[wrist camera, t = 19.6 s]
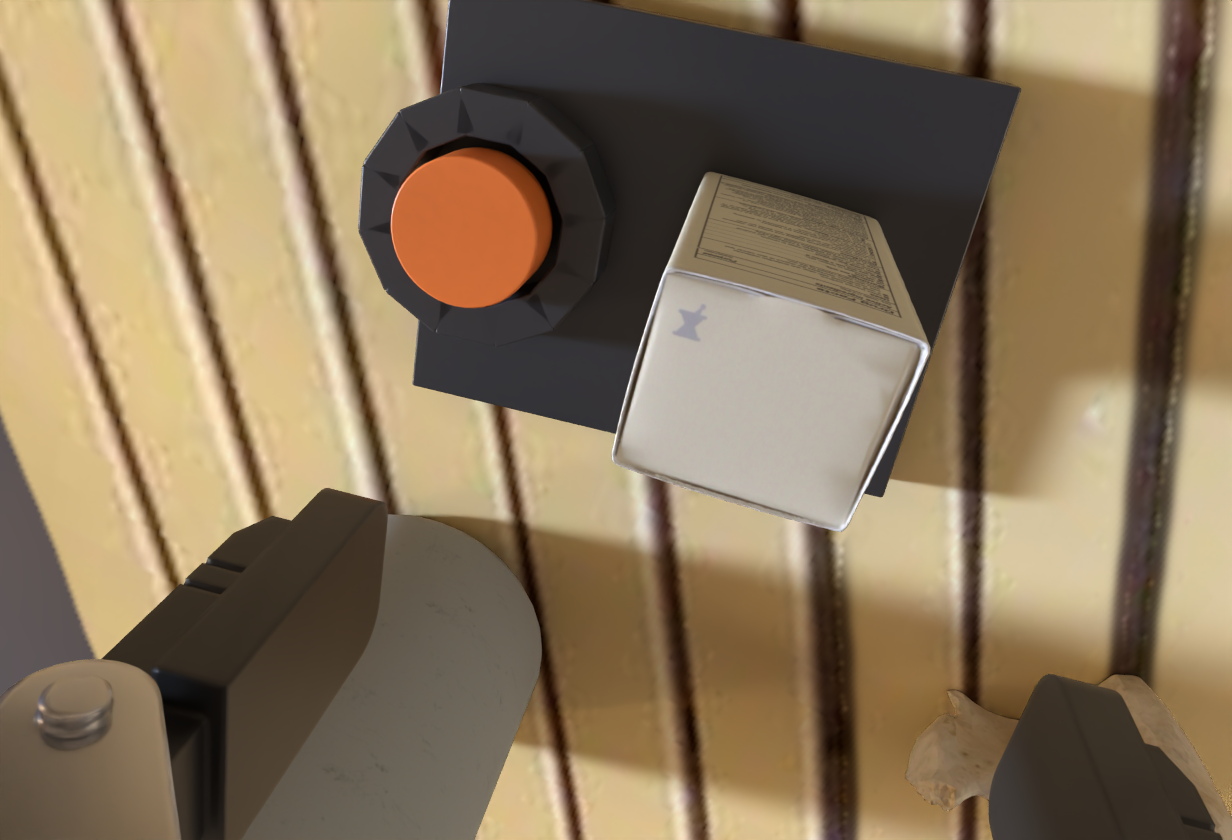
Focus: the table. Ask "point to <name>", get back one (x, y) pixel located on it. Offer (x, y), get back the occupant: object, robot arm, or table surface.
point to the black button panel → (667, 178)
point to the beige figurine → (976, 739)
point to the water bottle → (418, 701)
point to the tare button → (471, 227)
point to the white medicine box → (772, 356)
